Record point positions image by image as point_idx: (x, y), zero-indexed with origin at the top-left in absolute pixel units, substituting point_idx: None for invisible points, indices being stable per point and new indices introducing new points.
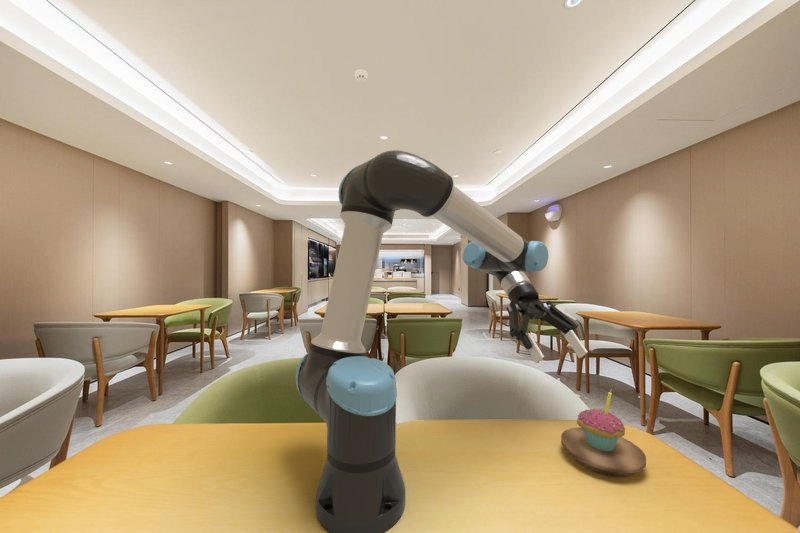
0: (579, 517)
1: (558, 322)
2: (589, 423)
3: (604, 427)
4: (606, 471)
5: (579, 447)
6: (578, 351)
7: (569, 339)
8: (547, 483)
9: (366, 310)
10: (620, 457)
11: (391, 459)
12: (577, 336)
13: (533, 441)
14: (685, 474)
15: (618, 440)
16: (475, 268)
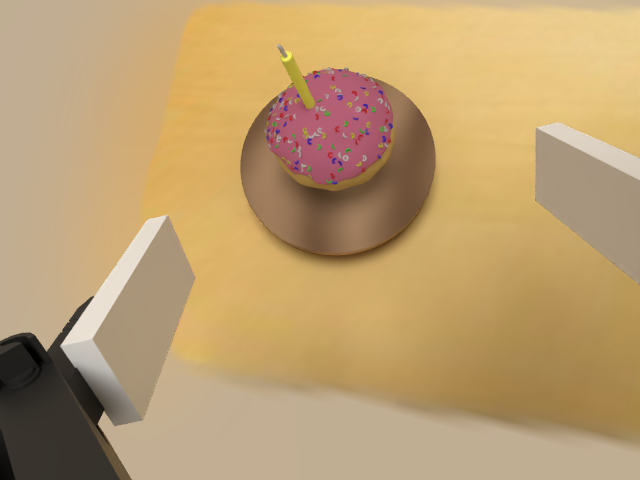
0: (511, 24)
1: (113, 466)
2: (385, 98)
3: (358, 74)
4: None
5: (401, 153)
6: (177, 272)
7: (148, 351)
8: (526, 106)
9: None
10: None
11: None
12: (65, 332)
13: (474, 271)
14: (196, 115)
15: (267, 175)
16: None
